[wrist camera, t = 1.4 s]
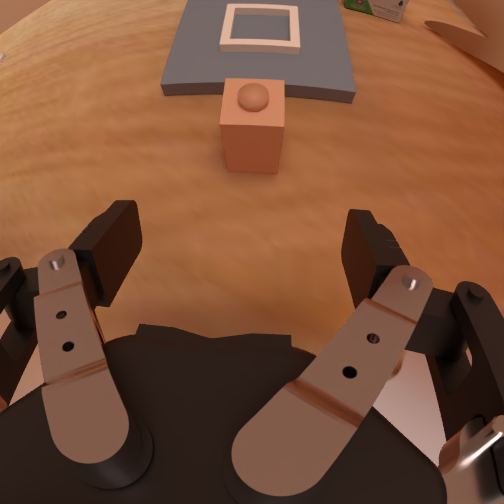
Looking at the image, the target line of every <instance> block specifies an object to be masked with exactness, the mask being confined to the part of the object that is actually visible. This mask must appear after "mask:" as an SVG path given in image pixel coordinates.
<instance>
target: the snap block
mask: <svg viewBox="0 0 504 504" xmlns="http://www.w3.org/2000/svg"><path fill="white" fill-rule="evenodd" d="M219 125H220V130H221V135H222V141H223V146H224V151H225V157H226V162H227V167H228V172H252V173H272V174H277V173H278V166H279V159H280V152H281V145H282V138H283V131H284V80H271V79H244V78H226V79H225V86H224V94H223V101H222V109H221V116H220V124H219Z"/></svg>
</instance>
